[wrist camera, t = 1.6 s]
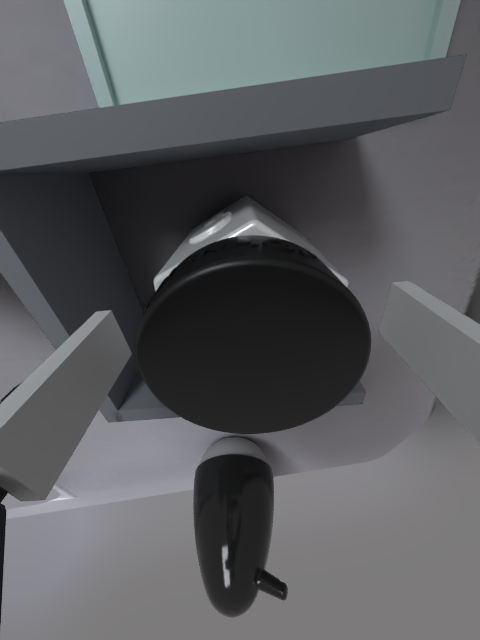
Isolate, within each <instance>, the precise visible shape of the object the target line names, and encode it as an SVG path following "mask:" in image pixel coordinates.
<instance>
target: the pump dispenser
mask: <svg viewBox="0 0 480 640" xmlns="http://www.w3.org/2000/svg"><path fill="white" fill-rule="evenodd" d="M193 504H194V505H193V506H194V508H193V509H194V529H195V539H196V547H197V554H198V560H199V566H200V571H201V575H202V579H203V583H204V587H205V590H206V593H207V596H208V598H209V600H210V602H211V604H212V606H213V607H214V608H215V609H216V610H217V611H218V612H219V613H221V614H222V615H224V616H227V617H232V618H233V617H238V616H240V615H242V614H244V613H245V612H246V611H248V610H249V608H250V607H251V606H252V605H253V603H254V601H255V599H256V597H257V594H258V591H259V590H261V591H263V592H265V593H268V594H270V595H272V596H274V597H277V598H279V599H281V600H286V598H287V594H288V588H287V585H286V584H285V583H284V582H281V581H280V580H279V579H278V578H276V577H275V576H273V575H271V574H270V573H268V572H267V571H266V570H265V568H266V563H267V559H268V553H269V548H270V542H271V533H272V524H273V511H274V508H273V507H274V483H273V473H272V469H271V467H270V466H269V465H268V462H267V459H266V457H265V455H264V453H263V452H262V450H261V449H260V448H259V447H258V446H257V445H256V444H255V443H253V442H252V441H250V440H247V439H244V438H240V437H229V438H224V439H221V440H219V441H217V442H215V443H214V444H212V445H211V446H210V447H209V448H208V449H207V451H206V452H205V454H204V455H203V457H202V459H201V462H200V465H199V466H198V467H197V469H196V472H195V479H194V502H193Z"/></svg>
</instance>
